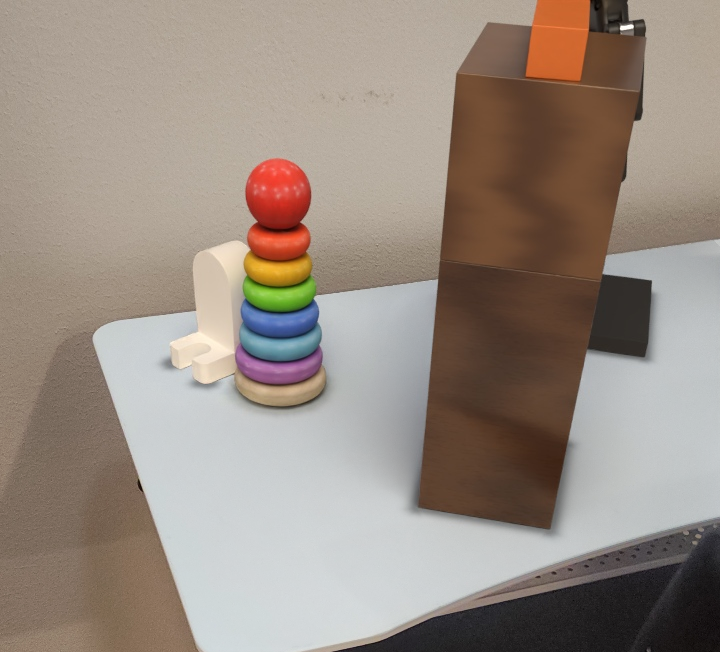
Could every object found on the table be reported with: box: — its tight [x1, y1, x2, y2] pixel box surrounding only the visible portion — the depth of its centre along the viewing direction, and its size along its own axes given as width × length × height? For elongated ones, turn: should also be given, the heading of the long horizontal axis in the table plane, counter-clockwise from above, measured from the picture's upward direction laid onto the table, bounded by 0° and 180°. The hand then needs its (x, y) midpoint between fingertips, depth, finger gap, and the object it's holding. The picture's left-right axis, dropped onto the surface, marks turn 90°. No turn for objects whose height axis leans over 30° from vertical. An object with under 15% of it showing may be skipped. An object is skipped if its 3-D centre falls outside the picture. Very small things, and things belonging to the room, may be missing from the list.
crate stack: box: [417, 21, 648, 530], centre depth 69 cm, size 10×12×30 cm
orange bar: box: [525, 0, 590, 81], centre depth 60 cm, size 3×19×2 cm, turn 170°
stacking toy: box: [233, 157, 327, 407], centre depth 81 cm, size 8×8×19 cm
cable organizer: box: [169, 239, 251, 385], centre depth 88 cm, size 5×10×10 cm, turn 134°
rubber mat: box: [587, 273, 653, 358], centre depth 99 cm, size 10×14×2 cm
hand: (593, 169), depth 76 cm, fingers open, 8 cm apart
